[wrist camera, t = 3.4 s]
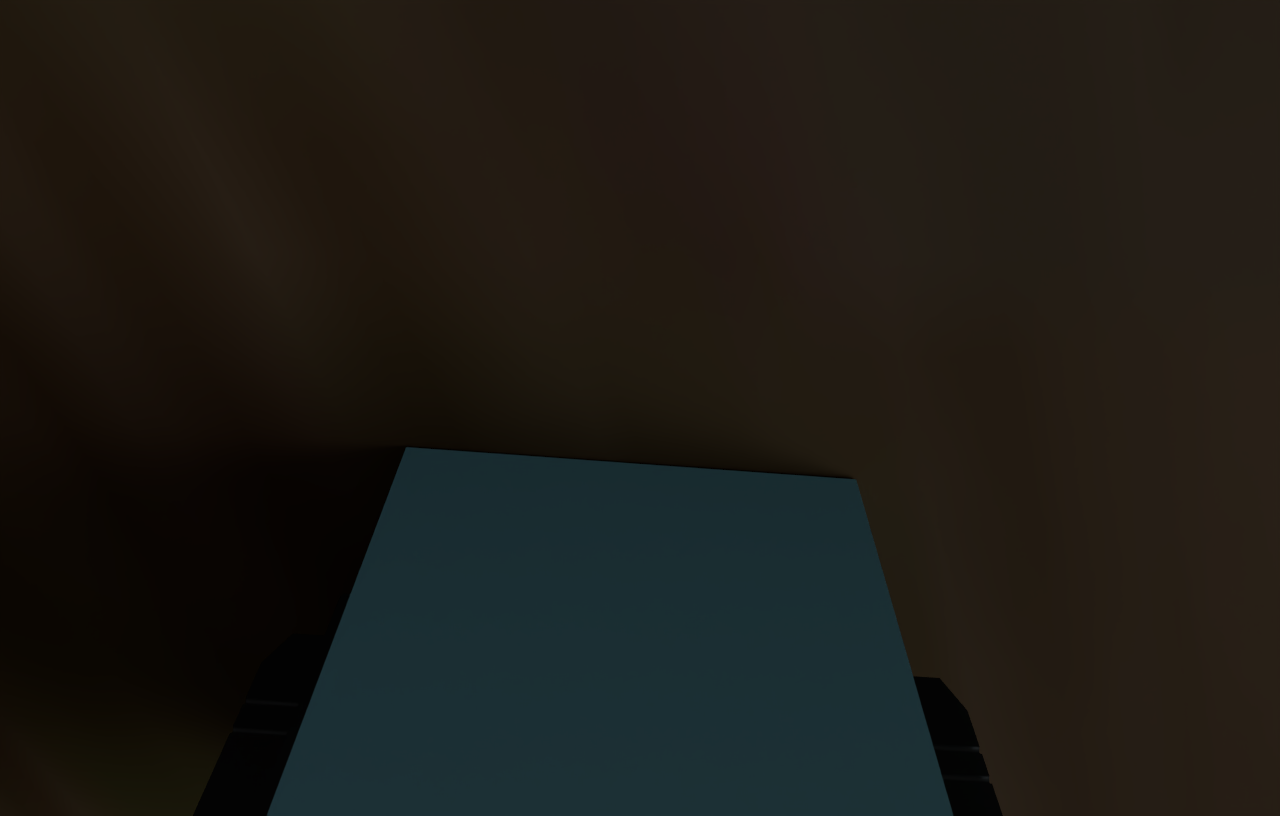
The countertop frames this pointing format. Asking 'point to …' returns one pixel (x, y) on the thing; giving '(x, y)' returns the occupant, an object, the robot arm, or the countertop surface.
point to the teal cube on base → (614, 651)
